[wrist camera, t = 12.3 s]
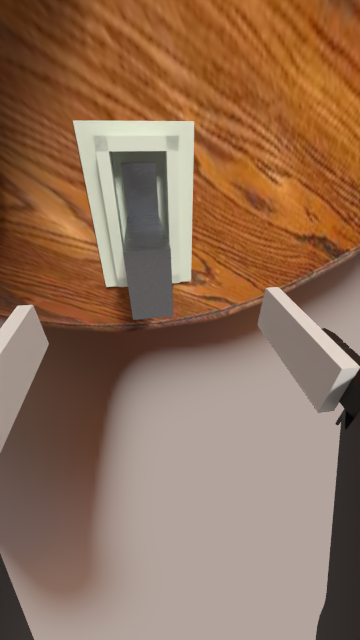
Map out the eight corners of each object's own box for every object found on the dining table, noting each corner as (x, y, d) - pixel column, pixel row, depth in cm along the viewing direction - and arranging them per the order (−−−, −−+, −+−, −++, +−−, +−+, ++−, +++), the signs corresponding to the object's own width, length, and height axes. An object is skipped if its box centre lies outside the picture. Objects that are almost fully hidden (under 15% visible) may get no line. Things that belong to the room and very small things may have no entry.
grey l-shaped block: (134, 260, 32) (133, 319, 21) (121, 162, 26) (110, 170, 15) (160, 259, 33) (173, 316, 21) (154, 161, 27) (167, 169, 15)
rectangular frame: (106, 283, 35) (103, 297, 31) (75, 121, 25) (65, 116, 21) (189, 278, 36) (194, 290, 33) (192, 122, 26) (200, 117, 23)
